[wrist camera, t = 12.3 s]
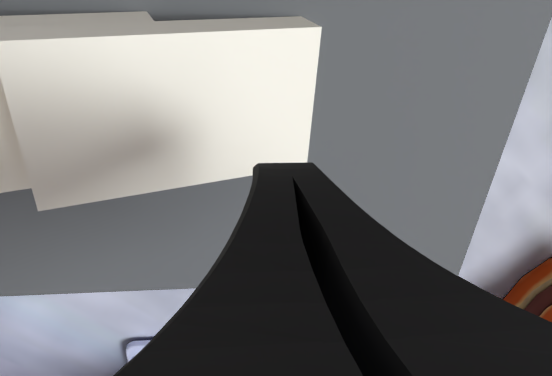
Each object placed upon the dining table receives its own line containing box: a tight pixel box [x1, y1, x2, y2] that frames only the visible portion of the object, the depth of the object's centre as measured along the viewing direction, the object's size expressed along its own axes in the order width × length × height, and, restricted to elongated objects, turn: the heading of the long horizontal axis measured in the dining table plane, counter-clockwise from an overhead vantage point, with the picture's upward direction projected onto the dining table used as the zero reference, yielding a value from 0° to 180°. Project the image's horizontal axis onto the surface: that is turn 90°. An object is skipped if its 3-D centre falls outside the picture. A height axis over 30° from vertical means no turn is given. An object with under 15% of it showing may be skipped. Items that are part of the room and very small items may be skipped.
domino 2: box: [0, 16, 322, 211], centre depth 14 cm, size 2×5×9 cm
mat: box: [0, 0, 552, 296], centre depth 16 cm, size 20×31×1 cm, turn 87°
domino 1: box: [0, 11, 154, 193], centre depth 14 cm, size 2×5×9 cm
